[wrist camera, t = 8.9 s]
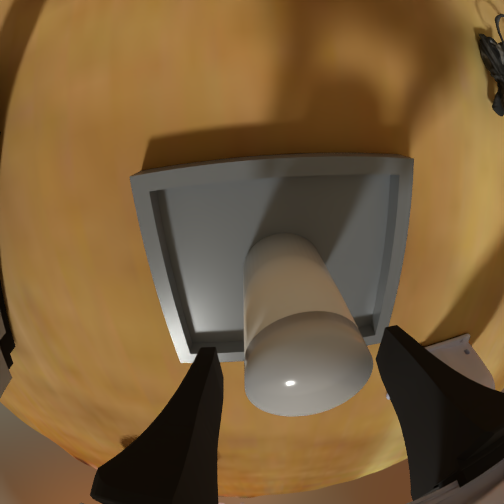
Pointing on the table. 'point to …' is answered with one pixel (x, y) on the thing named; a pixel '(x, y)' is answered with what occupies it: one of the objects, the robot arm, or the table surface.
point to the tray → (269, 223)
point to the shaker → (298, 331)
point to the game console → (5, 346)
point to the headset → (495, 64)
